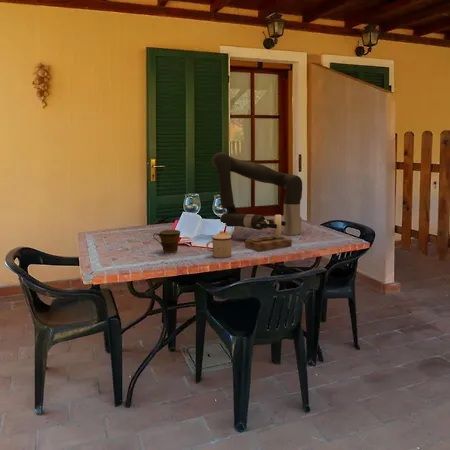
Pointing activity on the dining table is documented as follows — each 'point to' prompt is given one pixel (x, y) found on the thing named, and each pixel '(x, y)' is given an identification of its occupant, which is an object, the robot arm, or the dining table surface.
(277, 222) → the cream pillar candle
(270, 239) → the wooden tray
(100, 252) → the dining table surface
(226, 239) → the teacup with lid
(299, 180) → the robot arm
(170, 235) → the ceramic cup
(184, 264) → the dining table surface
